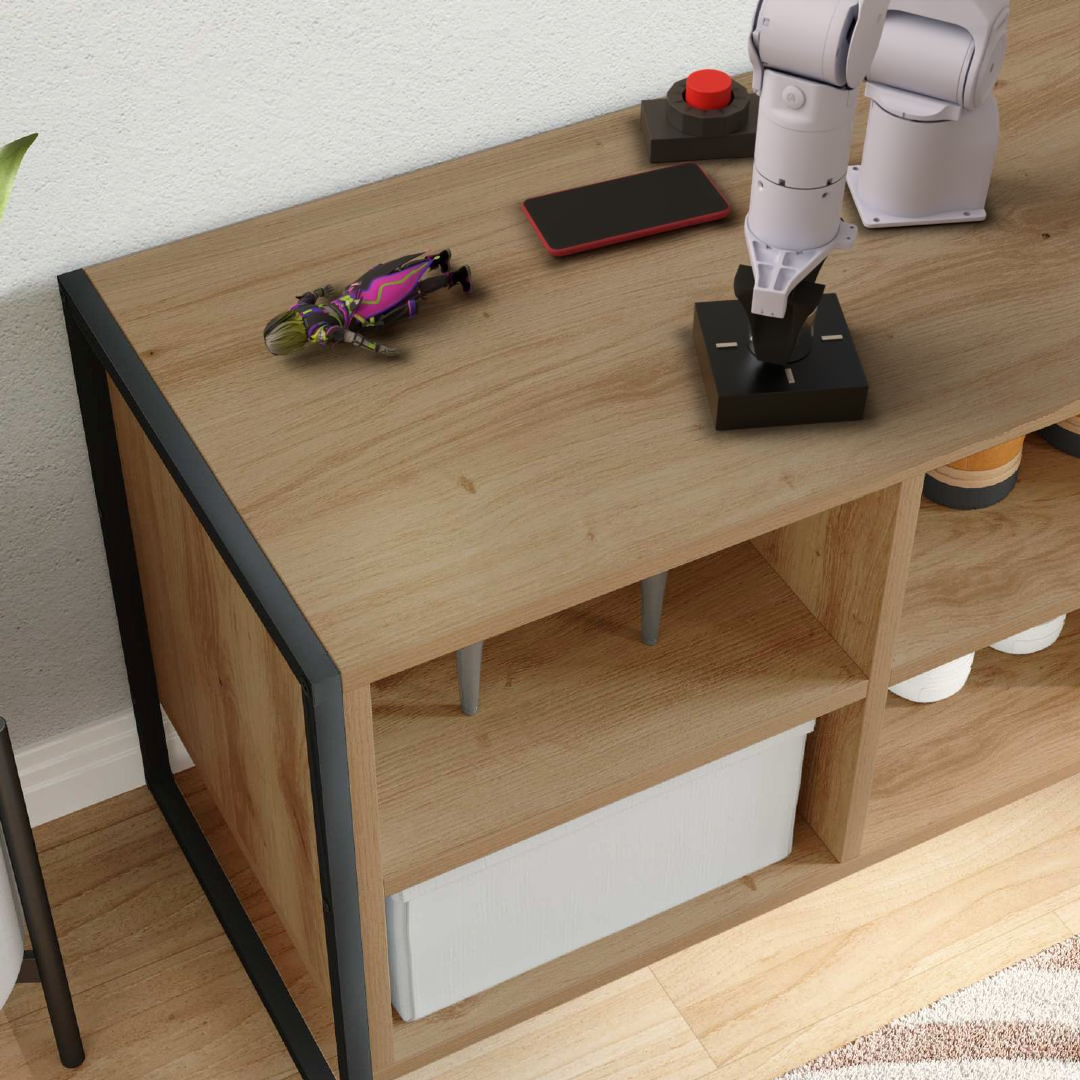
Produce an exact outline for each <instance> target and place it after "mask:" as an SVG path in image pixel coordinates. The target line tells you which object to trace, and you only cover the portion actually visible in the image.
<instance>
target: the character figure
mask: <svg viewBox="0 0 1080 1080" xmlns="http://www.w3.org/2000/svg"><path fill="white" fill-rule="evenodd" d="M431 251H432V249H428V250H426V251H423V252H417V253H413V254H407V255H404V256H401V257H398V258H395V259H392V260H390V261H387V262H385V263H381V262H380V263H378V264H377V265H375V266H373V267H370V268H369V270H368V271H366V272H365V273H363V274H362V275H361V276H359V277H358V278H357V279H356V280H355V281H353V282H352V283H350V284H348V285H346V286H345V287H344V290H343V291H342V293H341V295H340V297H337V298H336V299H334V298H332V297H331V296H332V295H335V294H336V292H334V291H335V288H334V286H333V285H332V283H328V284H326V285H324V286H322V287H319V288H317V289H314V290H312V291H307V292H304V293H302V295H295V299H297V300H298V301H297V303H295V304H294V305H292V306H291V307H290V308H289V309H288V310H285V311H282V312H280V313H279V314H277V315H276V316H274V317H273V318H271V319H270V321H268V322H267V324H266V325H265V328H264V329H263V334H262V335H263V340H264V345H265V347H266V348H267V350H268V351H269V352H270V353H271V354H272V355H273V356H288V355H292V354H294V353H297V352H301V351H303V350H304V349H308V346H305V345H306V344H307V343H308V342H309V340H310V343H315V344H319V345H322V346H326V345H327V344H328V342H329V343H333V345H332V348H331V349H334V348H335V347H336V345H339V344H345V343H350V344H352V345H354V346H355V347H360V348H363V349H366V350H369V351H371V352H373V353H380V354H382V355H385V356H396V355H398V354H400V352H401V351H400V350H398V348H397V347H395V348H389V347H387V346H385V345H381V344H378V343H377V342H375V341H372V340H370V339H368V338H366V337H365V336H363V335H362V334H360V333H362V331H363V334H371V333H378V332H385V331H386V330H385V327H386V326H389V325H392V324H394V323H397V322H399V321H400V322H401V321H402V320H404V319H406V318H408V319H413V318H415V317H416V316H417V315H418V314H419V308H420V307H419V301H427V300H429V297H426V296H429V294H432V293H434V292H436V291H438V290H440V289H442V288H447V287H448V288H447V290H450V289H451V288H453V287H457V286H459V285H460V286H461V288H462V291H463V294H466V295H467V294H472V293H473V292H474V283H473V279H472V272H471V268H470V266H469V264H464V265H463V266H461V267H459V268H458V270H455V271H451V263H450V261H451V259H452V251H451V249H450V248H449V247H446V248H445V249H443V250H441V251H440V252H439V253H436V254H429V255H425V257H424V258H420V259H419V258H418V257H420V256H422V255H424V254H426V253H429V252H431ZM416 258H418V259H416ZM439 268H440V272H441V273H442V274H441V275H435V276H430V277H427V278H425V279H422V277H423V276H424V274H425V272H426V271H427V270H428V269H429V271H428V272H427V273H431V271H435V270H438V269H439ZM319 298H325V299H326V300H329V301H330V303H329V304H328V305H326V304H325V303H321V304H316V303H317V300H318V299H319Z"/></svg>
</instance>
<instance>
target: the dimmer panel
mask: <svg viewBox="0 0 1080 1080" xmlns="http://www.w3.org/2000/svg"><path fill="white" fill-rule="evenodd" d="M693 307H694V308H693V322H692V340H693V344H694V348H695V353H696V356H697V360H698V364H699V365H698V366H699V367H700V372H701V376H702V377H701V378H702V380H703V381H702V382H703V385H704V389H705V392H706V393H705V394H706V396H707V401H708V405H709V409H710V413H711V417H712V421H713V425H714V430H715V431H722V430H723V431H724V430H725V431H726V430H737V429H739V430H740V429H750V428H751V429H752V428H764V427H765V428H766V427H779V426H792V425H803V424H804V425H805V424H806V425H807V424H819V423H821V424H822V423H832V422H847V421H860V420H863V419H864V417H865V416H864V415H865V411H866V410H865V409H866V404H867V400H868V399H867V398H868V393H869V387H870V385H869V383H868V380H867V377H866V374H865V371H864V368H863V366H862V362H861V359H860V357H859V354H858V351H857V349H856V345H855V342H854V340H853V337H852V335H851V334H852V333H851V331H850V329H849V326H848V323H847V321H846V318H845V315H844V312H843V309H842V306H841V303H840V301H839V298H838V295H837V292H826V293H825V292H824V293H823V296H822V299H821V301H820V303H819V304H818V307H817V314H816V321H815V328H814V335H813V342H812V348H811V350H810V352H809V353H808V354H807V355H806V356H805V357H803V358H801V359H799V360H797V361H794V362H788V363H787V364H786V365H779V364H774V363H768V362H763V361H758V360H757V359H756V355H755V354H754V353H753V352H752V351H751V350H750V349H749V347H748V344H747V332H748V322H749V320H748V317H747V315H746V312H745V310H744V308H743V306H742V305H741V303H740V302H739V300H738V299H726V300H710V301H696V302H694V305H693Z"/></svg>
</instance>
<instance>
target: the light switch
mask: <svg viewBox="0 0 1080 1080" xmlns="http://www.w3.org/2000/svg"><path fill="white" fill-rule="evenodd" d="M687 78H688V76H687V77H685V78H682V79H679V80H676V81H675V82H673V84H672V85H671V87H670V88H668V90H667V92H666V98H655V99H654V98H653V99H652V98H651V99H641V101H640V114H639V115H640V116H639V117H640V118H639V119H640V120H639V124H640V128H641V132H642V136H643V140H644V144H645V147H646V152H647V156H648V160H649V163H650V164H651V163H654V164H655V163H666V162H667V163H669V162H684V161H698V160H699V161H701V160H715V159H731V158H732V159H733V158H745V157H754V154H755V144H756V133H757V123H758V112H759V101H760V96H758V95H757V94H756V93H755V92H748V90H747V87H746V86H744V85H742V84H741V83H739V82H737V80H736V79H735V80H734V79H733V78H731V80H732V87H731V100H730V103H729V105H728V106H726V107H723V108H721V109H712V110H703V109H699V108H694V107H692V106H690V105H689V104H687V102H686V83H687Z"/></svg>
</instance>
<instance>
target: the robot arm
mask: <svg viewBox="0 0 1080 1080" xmlns="http://www.w3.org/2000/svg"><path fill="white" fill-rule="evenodd" d="M1009 6H1010V0H756V2H755V5H754V8H753V12H752V17H751V22H750V27H749V32H748V35H747V53H748V58H749V62H750V63H751V65H752V84H751V89H752V90H753V93H756V94H757V95H758V96H760V101H759V112H758V123H757V133H756V144H755V154H754V156H753V167H752V176H751V177H752V178H751V188H750V198H749V207H748V208H749V210H748V212H747V214H746V215H745V218H744V227H743V232H744V237H745V238H744V239H745V243H746V246H747V251H748V256H749V259H750V265H747V264H743V263H739V265H738V268H737V269H736V270H737V271H736V273H735V276H734V278H733V292H734V293H733V294H734V297H735V298H736V300H739V302H740V303H741V305H742V306H743V308H744V310H745V312H746V315H747V317H748V320H749V324H750V329H751V335H752V341H753V347H754V352H755V355H756V359H757V360H758V361H763V362H768V363H774V364H779V365H786V364H787V363H788V361H789V359H790V357H791V355H792V352H793V350H794V347H795V344H796V341H797V337H798V335H799V332H800V329H801V327H802V325H803V323H804V322H805V320H806V319H807V318H808V316H809V315H810V314H811V313H812V312H813V311H814V310H815V309H816V308H817V306H818V304H819V303H820V301H821V299H822V296H823V294H825V289H826V286H827V284H824V283H818V282H816V281H817V278H818V276H819V273H820V271H821V270H822V267H823V265H824V263H825V262H826V261H827V258H828V257H829V255H830V254H831V253H832V252H834V251H835V250H839V251H840V250H841V251H850V250H853V248H854V247H855V244H856V240H857V238H858V231H859V228H858V226H857V225H856V224H854V223H851V222H845V221H844V219H843V218H842V209H843V203H844V196H845V189H846V183H847V187H848V189H849V191H850V194H851V196H852V199H853V202H854V204H855V207H856V210H857V212H858V214H859V217H860V220H861V222H862V225H863V226H864V227H866V228H867V229H875V228H894V227H908V226H921V225H922V226H923V225H937V224H939V225H940V224H953V223H969V222H981V221H985V220H986V217H987V211H986V210H985V206H986V205H985V204H986V201H987V196H988V191H989V187H990V183H991V178H992V174H993V169H994V164H995V161H996V155H997V152H998V147H999V140H1000V113H999V112H1000V111H999V107H998V106H999V105H998V102H997V99H996V96H995V95H994V93H993V90H994V88H995V86H996V83H997V82H998V79H999V75H1000V73H1001V70H1002V66H1003V64H1004V59H1005V56H1006V51H1007V45H1008V33H1007V31H1008V24H1009V18H1010V12H1011V9H1010V7H1009ZM861 83H865V87H864V88H865V89H864V94H863V95H864V97H866V98H869V99H870V104H869V111H868V116H867V124H866V131H865V136H864V142H863V143H864V144H863V150H862V156H861V162H860V163H861V164H855V165H849V160H850V154H851V149H852V141H853V134H854V127H855V120H856V113H857V106H858V99H859V93H860V87H861Z"/></svg>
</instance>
